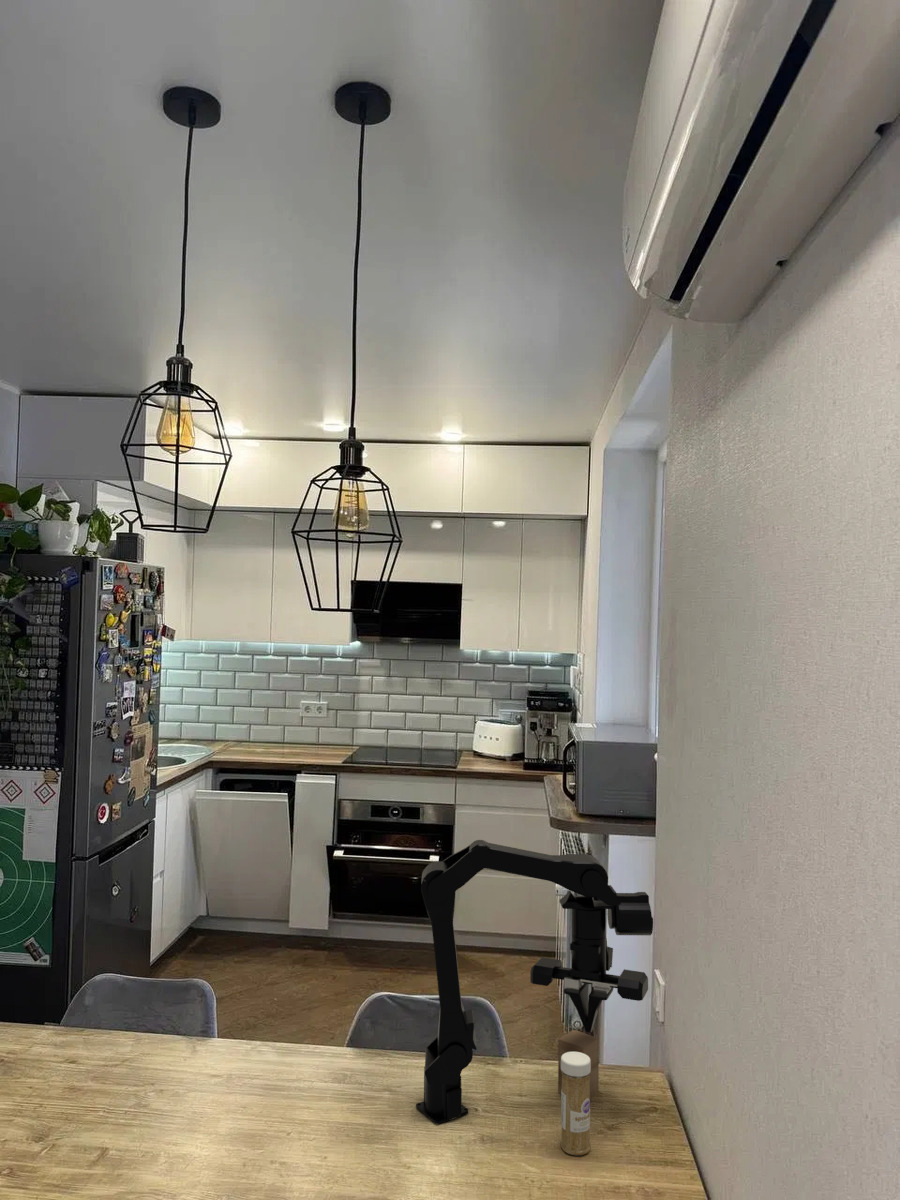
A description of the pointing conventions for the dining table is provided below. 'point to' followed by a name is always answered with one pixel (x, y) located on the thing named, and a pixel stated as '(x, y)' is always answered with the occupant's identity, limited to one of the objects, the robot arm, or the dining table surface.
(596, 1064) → the walnut block
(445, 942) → the robot arm
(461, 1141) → the dining table surface
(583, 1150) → the sprinkles bottle
